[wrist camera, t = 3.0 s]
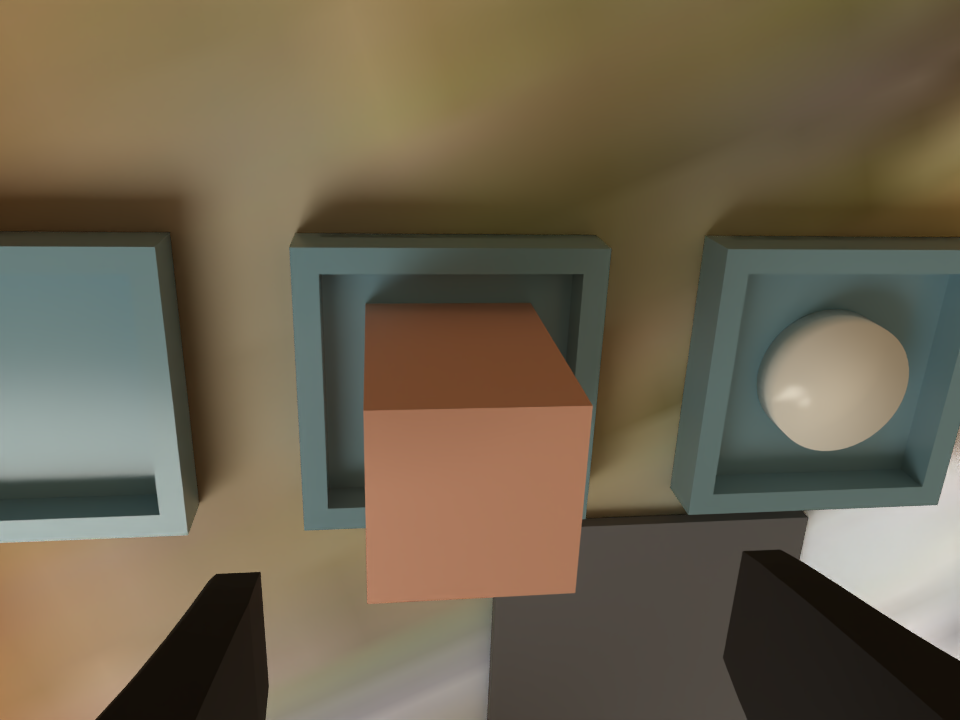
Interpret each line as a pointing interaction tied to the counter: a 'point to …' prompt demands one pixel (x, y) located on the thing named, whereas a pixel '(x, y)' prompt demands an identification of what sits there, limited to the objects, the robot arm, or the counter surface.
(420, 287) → the dish
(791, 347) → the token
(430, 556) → the brown rectangular block
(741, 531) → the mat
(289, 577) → the counter surface
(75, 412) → the dish
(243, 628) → the robot arm
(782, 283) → the dish
